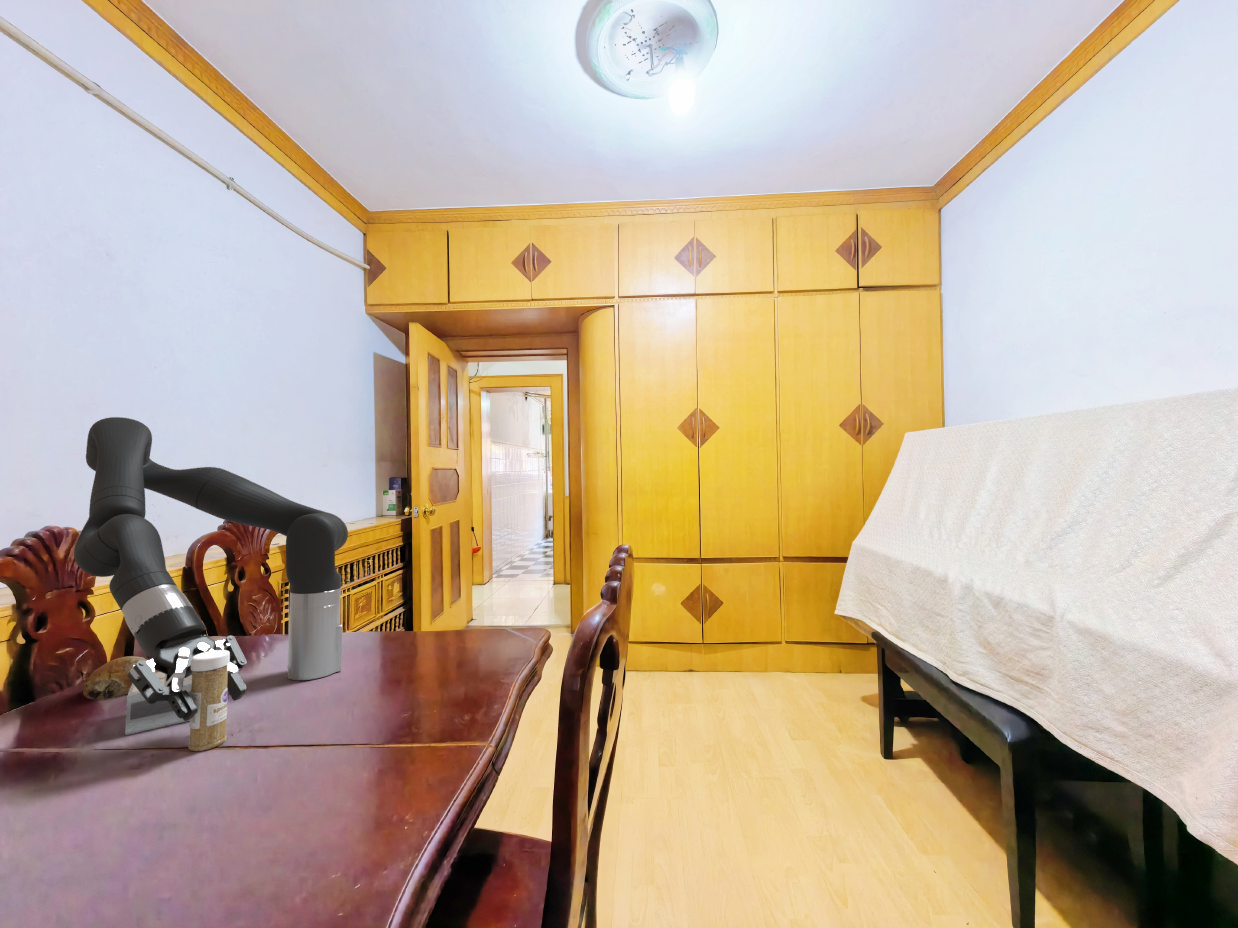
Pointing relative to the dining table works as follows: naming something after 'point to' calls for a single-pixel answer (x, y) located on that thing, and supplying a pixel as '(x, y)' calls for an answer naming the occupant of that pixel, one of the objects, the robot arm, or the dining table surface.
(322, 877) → the dining table surface
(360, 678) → the dining table surface
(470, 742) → the dining table surface
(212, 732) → the sprinkles bottle
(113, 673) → the bread roll
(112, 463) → the robot arm
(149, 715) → the box
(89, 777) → the dining table surface
